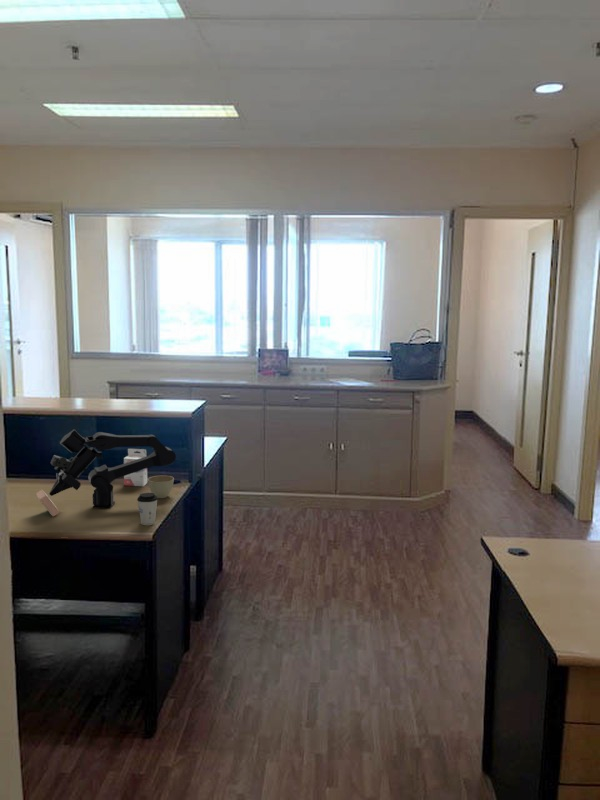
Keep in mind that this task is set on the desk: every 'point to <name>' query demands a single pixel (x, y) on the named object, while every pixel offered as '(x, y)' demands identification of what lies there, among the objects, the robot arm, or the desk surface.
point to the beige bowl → (161, 485)
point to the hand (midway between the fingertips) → (50, 494)
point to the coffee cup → (147, 508)
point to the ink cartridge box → (139, 476)
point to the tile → (47, 503)
